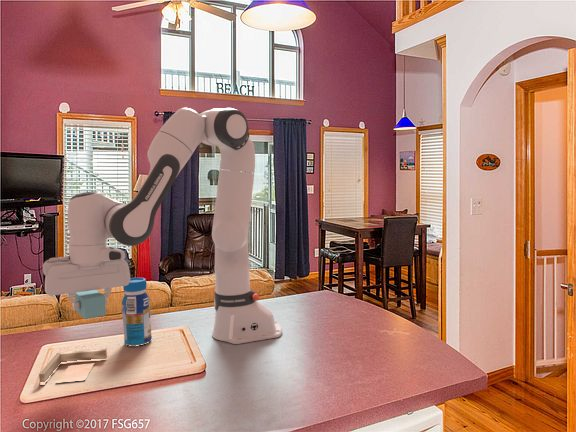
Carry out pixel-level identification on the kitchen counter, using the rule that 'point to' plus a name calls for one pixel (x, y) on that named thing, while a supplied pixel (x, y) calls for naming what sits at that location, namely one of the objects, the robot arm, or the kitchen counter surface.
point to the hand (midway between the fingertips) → (90, 306)
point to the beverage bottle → (136, 313)
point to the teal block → (91, 304)
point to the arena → (70, 357)
